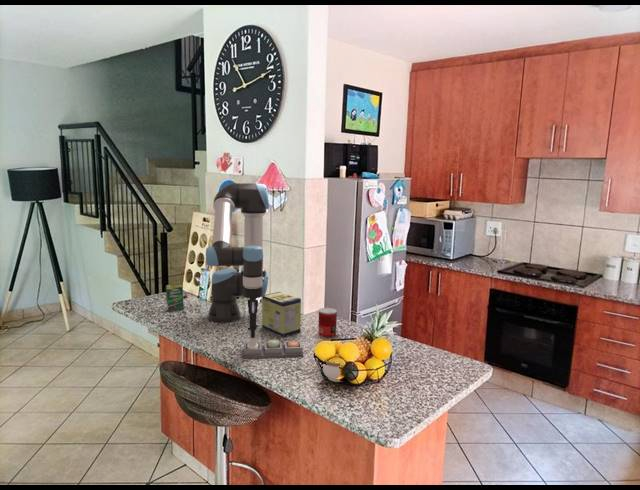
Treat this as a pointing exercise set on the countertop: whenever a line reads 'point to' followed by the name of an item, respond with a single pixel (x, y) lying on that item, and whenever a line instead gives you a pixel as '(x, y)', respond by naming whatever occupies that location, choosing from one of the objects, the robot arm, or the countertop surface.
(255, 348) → the button cream
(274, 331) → the protein box
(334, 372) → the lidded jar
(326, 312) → the canned food
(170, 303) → the coffee box
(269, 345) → the button sage
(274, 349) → the button panel
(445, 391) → the countertop surface
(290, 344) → the button terracotta
